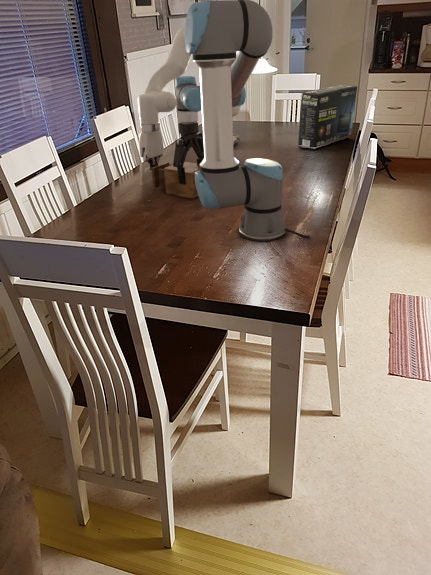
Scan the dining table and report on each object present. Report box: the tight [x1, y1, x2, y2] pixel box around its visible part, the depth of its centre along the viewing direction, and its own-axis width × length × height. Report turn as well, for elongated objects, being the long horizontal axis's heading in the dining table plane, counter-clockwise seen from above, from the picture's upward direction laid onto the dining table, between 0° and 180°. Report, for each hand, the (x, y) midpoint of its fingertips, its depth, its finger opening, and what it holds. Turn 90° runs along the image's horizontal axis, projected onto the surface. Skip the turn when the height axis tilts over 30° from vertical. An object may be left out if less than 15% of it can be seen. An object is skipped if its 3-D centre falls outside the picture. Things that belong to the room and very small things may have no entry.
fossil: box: [233, 132, 241, 146], centre depth 248 cm, size 18×11×15 cm
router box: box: [297, 84, 358, 151], centre depth 238 cm, size 36×11×27 cm, turn 134°
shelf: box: [143, 161, 173, 189], centre depth 189 cm, size 18×10×8 cm, turn 55°
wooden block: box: [164, 161, 200, 200], centre depth 183 cm, size 13×11×10 cm
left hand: (154, 173), depth 192 cm, fingers closed
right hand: (191, 179), depth 182 cm, fingers closed on wooden block, 11 cm apart
